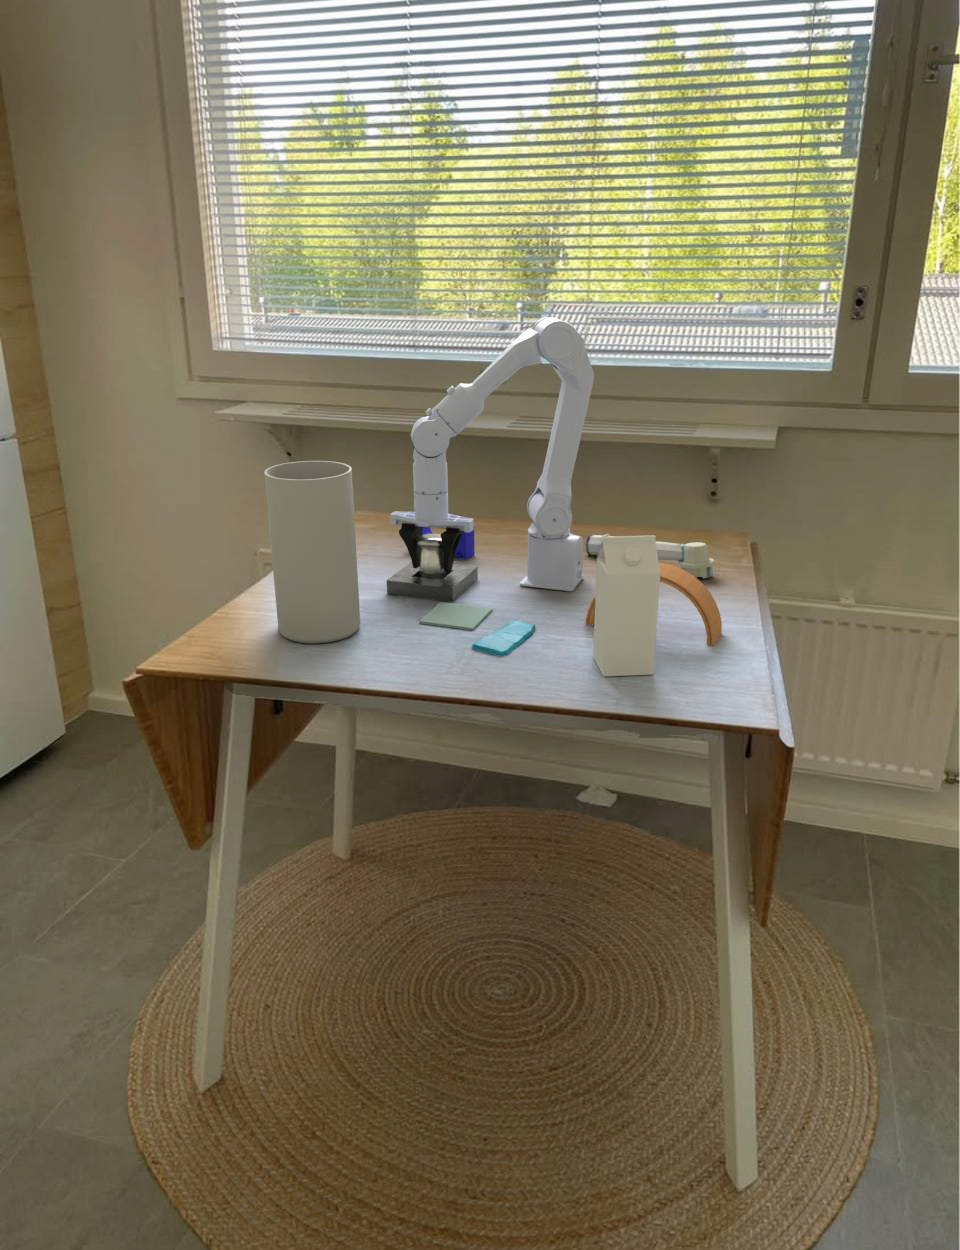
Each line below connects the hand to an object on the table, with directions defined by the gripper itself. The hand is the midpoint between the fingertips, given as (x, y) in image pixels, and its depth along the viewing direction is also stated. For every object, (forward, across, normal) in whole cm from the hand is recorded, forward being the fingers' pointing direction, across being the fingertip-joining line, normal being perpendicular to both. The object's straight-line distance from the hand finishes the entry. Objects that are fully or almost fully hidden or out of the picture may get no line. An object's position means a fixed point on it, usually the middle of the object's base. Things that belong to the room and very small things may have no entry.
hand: (432, 568), depth 166 cm
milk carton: (+4, +38, -22) cm, 44 cm away
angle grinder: (+4, +33, +24) cm, 41 cm away
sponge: (+4, +20, -18) cm, 27 cm away
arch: (+4, +39, -7) cm, 40 cm away
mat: (+3, +9, -12) cm, 15 cm away
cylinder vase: (+4, -9, -24) cm, 26 cm away
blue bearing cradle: (+4, -6, +18) cm, 19 cm away
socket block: (+3, 0, 0) cm, 3 cm away
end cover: (+3, 0, 0) cm, 3 cm away
